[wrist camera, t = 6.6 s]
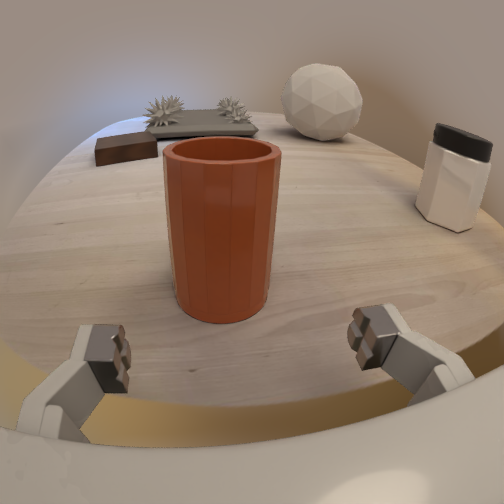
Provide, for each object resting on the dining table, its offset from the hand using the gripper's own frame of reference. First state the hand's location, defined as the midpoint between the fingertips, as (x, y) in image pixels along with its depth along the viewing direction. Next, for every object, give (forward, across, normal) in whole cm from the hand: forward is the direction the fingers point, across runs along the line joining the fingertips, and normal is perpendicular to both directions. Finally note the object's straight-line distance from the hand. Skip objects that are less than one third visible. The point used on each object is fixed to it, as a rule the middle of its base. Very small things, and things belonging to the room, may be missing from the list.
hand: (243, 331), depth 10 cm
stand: (+50, +15, +6) cm, 53 cm away
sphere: (+65, -28, +6) cm, 71 cm away
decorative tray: (+77, +2, +6) cm, 77 cm away
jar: (+21, -30, +6) cm, 37 cm away
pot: (+10, 0, +6) cm, 12 cm away
